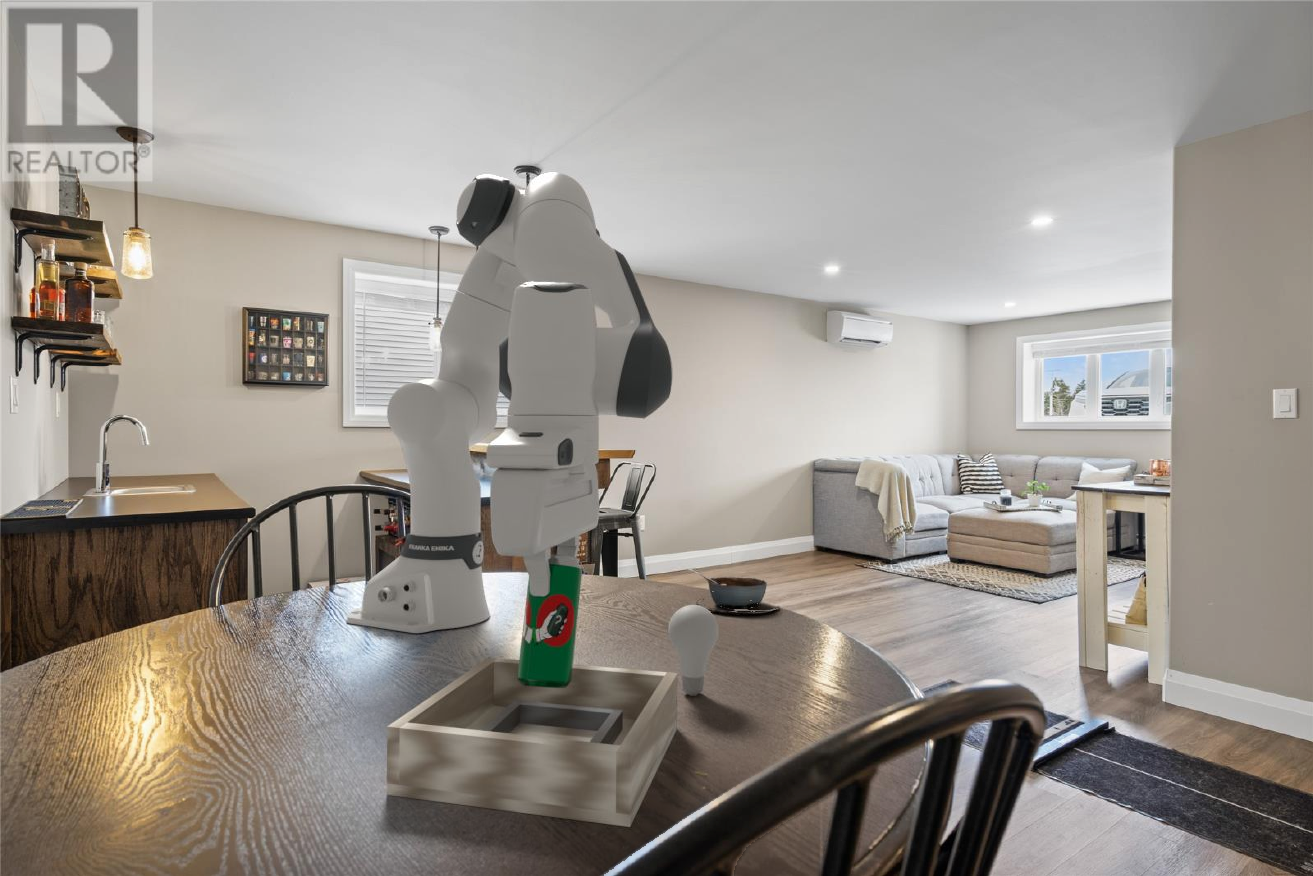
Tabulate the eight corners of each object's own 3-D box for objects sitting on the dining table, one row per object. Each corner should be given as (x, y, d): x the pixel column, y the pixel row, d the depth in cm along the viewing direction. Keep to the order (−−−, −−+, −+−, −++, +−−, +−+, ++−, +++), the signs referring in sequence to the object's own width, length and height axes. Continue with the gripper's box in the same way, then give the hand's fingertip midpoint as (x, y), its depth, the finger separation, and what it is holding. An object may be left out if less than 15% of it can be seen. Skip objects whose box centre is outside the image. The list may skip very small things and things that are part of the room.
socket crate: (386, 794, 64) (387, 726, 63) (488, 709, 83) (488, 657, 83) (630, 827, 59) (630, 753, 59) (677, 728, 78) (677, 673, 78)
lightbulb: (665, 687, 91) (666, 599, 91) (713, 686, 91) (714, 599, 91) (670, 706, 85) (671, 612, 85) (722, 704, 85) (723, 611, 85)
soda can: (581, 688, 68) (593, 560, 72) (547, 688, 64) (562, 553, 68) (539, 684, 71) (553, 561, 74) (504, 684, 67) (520, 553, 70)
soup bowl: (758, 627, 120) (758, 582, 120) (675, 613, 129) (675, 571, 129) (792, 608, 133) (792, 568, 133) (714, 597, 142) (715, 559, 141)
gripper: (559, 443, 82) (558, 566, 82) (476, 448, 62) (476, 610, 62) (613, 444, 80) (612, 568, 80) (547, 449, 60) (547, 615, 60)
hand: (553, 587), depth 71 cm, fingers closed on soda can, 5 cm apart
